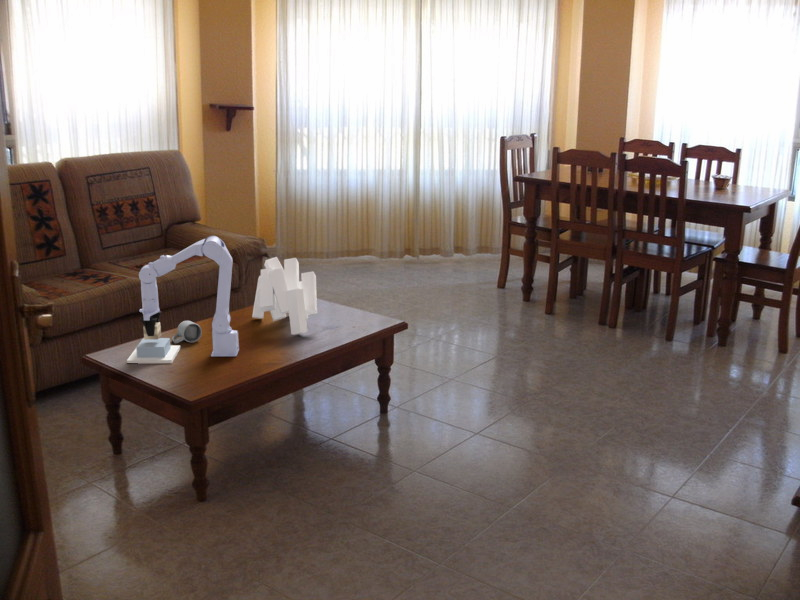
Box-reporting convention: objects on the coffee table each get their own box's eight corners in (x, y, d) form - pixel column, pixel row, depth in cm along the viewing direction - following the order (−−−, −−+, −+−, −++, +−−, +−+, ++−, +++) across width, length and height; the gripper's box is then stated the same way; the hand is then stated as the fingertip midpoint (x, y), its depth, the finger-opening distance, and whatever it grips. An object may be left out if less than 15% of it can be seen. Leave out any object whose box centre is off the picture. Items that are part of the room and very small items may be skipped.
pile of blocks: (340, 340, 344) (342, 258, 352) (291, 329, 320) (294, 242, 328) (278, 347, 364) (281, 269, 371) (227, 337, 340) (232, 255, 347)
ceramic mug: (194, 335, 332) (192, 316, 330) (202, 340, 326) (201, 322, 324) (168, 340, 326) (167, 322, 324) (176, 346, 320) (175, 327, 318)
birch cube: (161, 335, 309) (160, 322, 308) (158, 339, 305) (157, 326, 303) (147, 335, 309) (146, 322, 308) (144, 339, 304) (143, 326, 303)
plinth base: (180, 348, 317) (179, 335, 316) (171, 363, 302) (170, 349, 300) (137, 348, 316) (136, 335, 315) (127, 363, 301) (125, 350, 299)
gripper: (143, 292, 309) (146, 327, 313) (133, 303, 295) (136, 339, 299) (162, 292, 310) (165, 327, 314) (153, 303, 296) (156, 339, 300)
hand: (152, 333), depth 306 cm, fingers closed on birch cube, 5 cm apart
